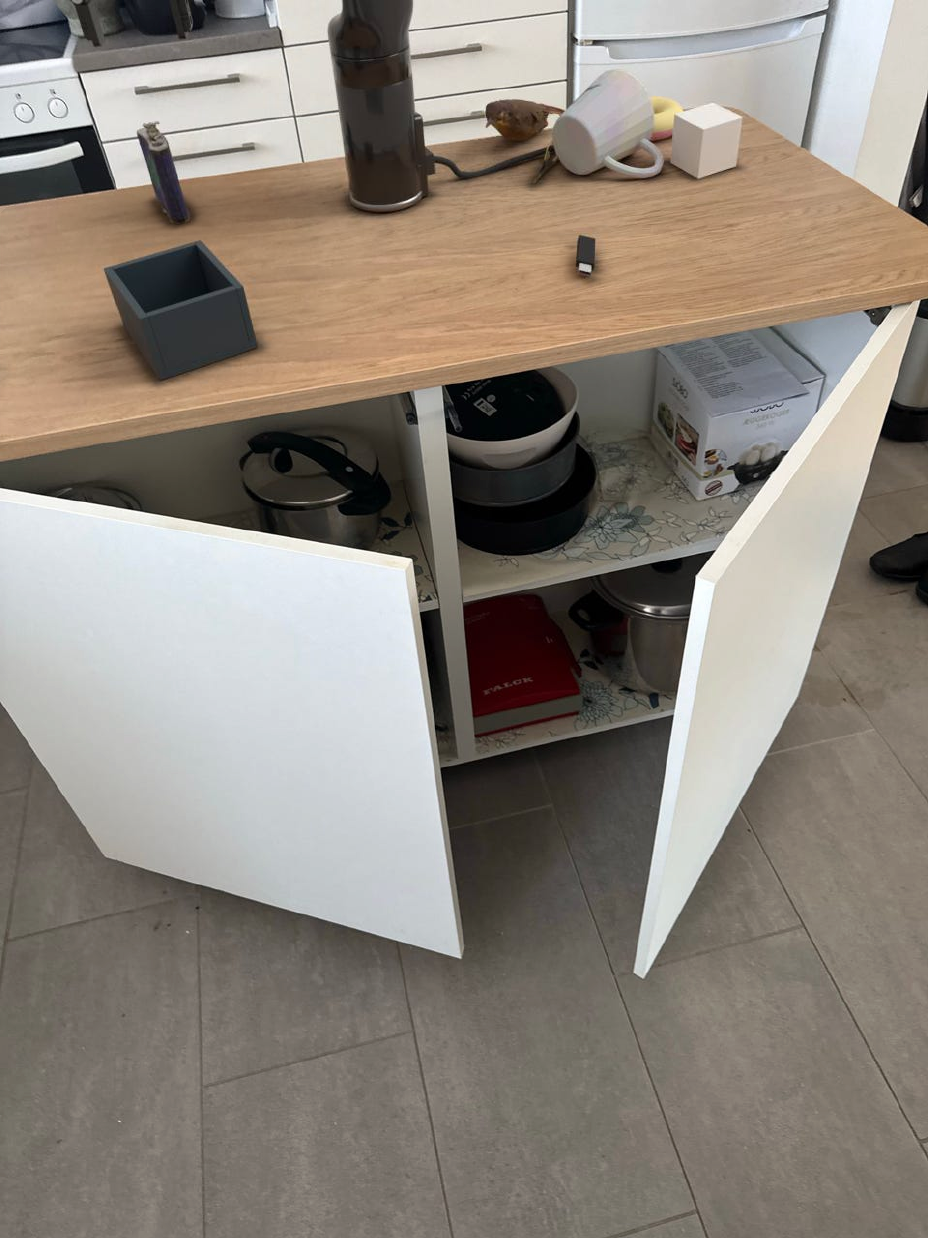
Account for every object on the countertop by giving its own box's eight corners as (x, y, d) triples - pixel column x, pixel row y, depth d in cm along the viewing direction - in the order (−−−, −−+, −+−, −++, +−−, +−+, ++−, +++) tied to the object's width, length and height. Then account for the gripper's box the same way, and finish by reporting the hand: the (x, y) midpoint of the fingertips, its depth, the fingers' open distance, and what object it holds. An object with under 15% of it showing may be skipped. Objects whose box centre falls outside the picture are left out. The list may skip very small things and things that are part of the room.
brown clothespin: (540, 186, 121) (539, 175, 120) (521, 186, 122) (520, 175, 121) (570, 149, 128) (569, 138, 127) (552, 149, 129) (551, 138, 128)
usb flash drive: (577, 266, 103) (574, 275, 104) (594, 270, 103) (592, 279, 104) (579, 234, 108) (576, 242, 109) (595, 237, 108) (593, 246, 109)
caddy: (216, 298, 105) (200, 239, 100) (258, 347, 98) (243, 286, 93) (124, 327, 102) (103, 268, 97) (160, 380, 94) (139, 319, 89)
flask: (154, 199, 125) (129, 113, 117) (176, 194, 125) (152, 107, 118) (172, 226, 119) (147, 136, 111) (195, 220, 120) (171, 131, 112)
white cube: (674, 113, 119) (669, 162, 123) (703, 128, 115) (697, 178, 120) (713, 102, 121) (707, 150, 125) (743, 116, 117) (736, 166, 121)
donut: (689, 141, 133) (634, 118, 136) (700, 106, 130) (643, 83, 133) (654, 154, 127) (598, 130, 130) (665, 117, 124) (606, 94, 127)
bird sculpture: (579, 138, 141) (585, 100, 138) (504, 149, 122) (509, 105, 119) (539, 130, 143) (544, 93, 140) (459, 140, 124) (464, 97, 122)
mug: (534, 151, 125) (584, 116, 129) (614, 225, 124) (662, 188, 127) (554, 85, 115) (607, 49, 119) (641, 165, 114) (692, 126, 117)
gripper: (172, -183, 85) (217, 23, 97) (15, -170, 85) (79, 35, 97) (158, -169, 80) (207, 46, 91) (-9, -155, 80) (62, 58, 91)
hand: (141, 40), depth 94 cm, fingers open, 8 cm apart
